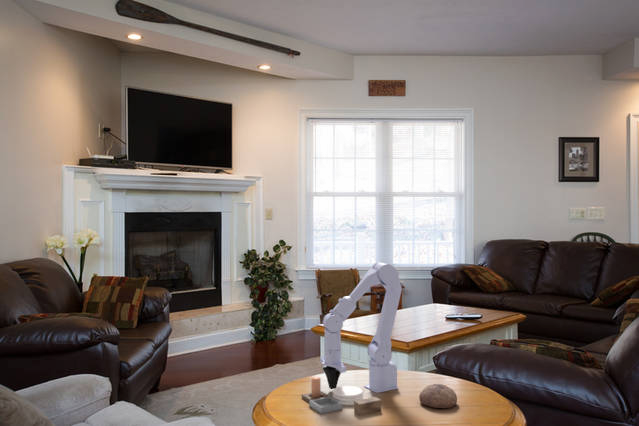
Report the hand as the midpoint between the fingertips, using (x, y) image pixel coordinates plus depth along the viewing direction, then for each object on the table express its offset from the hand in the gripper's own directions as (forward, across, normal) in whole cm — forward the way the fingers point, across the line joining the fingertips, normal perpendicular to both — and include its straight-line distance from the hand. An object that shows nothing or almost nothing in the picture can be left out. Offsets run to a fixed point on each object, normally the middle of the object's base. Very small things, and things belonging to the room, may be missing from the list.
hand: (332, 388), depth 186 cm
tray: (+1, +13, -10) cm, 17 cm away
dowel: (+1, +5, -9) cm, 10 cm away
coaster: (+2, +10, 0) cm, 10 cm away
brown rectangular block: (+1, +22, 0) cm, 22 cm away
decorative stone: (+3, +31, +24) cm, 39 cm away
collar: (+1, +5, -9) cm, 10 cm away
